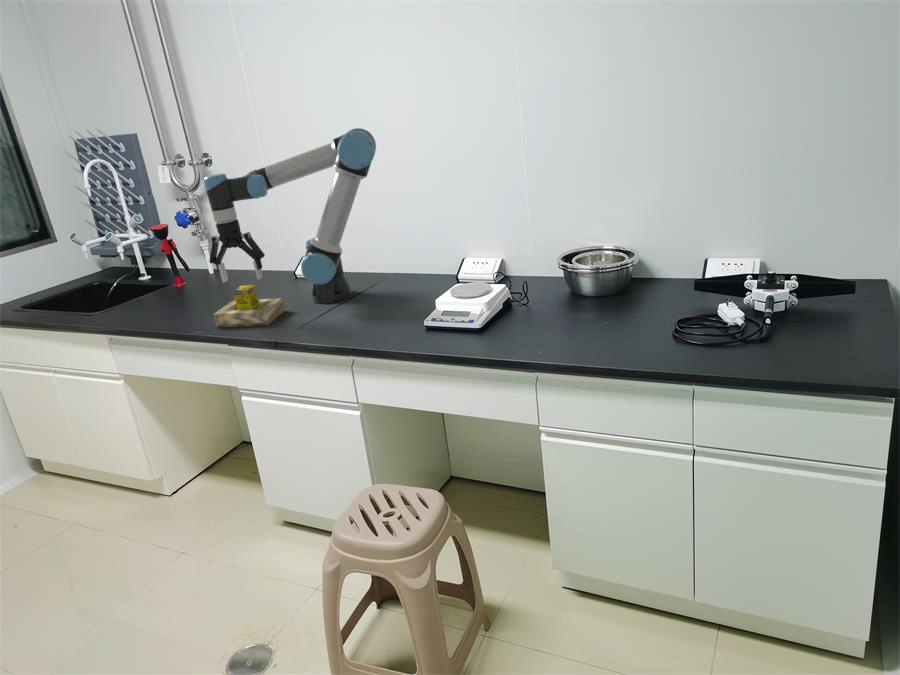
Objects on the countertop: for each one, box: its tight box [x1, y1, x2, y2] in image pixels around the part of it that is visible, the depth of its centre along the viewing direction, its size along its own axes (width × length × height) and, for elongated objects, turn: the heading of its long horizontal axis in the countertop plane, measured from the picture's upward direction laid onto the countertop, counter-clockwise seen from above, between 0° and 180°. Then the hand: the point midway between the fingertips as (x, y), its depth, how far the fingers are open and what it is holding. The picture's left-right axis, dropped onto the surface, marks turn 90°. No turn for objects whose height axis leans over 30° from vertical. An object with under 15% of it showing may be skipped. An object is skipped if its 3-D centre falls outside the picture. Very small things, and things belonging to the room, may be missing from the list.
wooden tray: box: [213, 297, 286, 328], centre depth 232 cm, size 20×14×5 cm
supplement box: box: [232, 284, 261, 310], centre depth 231 cm, size 6×6×11 cm
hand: (242, 279), depth 228 cm, fingers open, 13 cm apart
